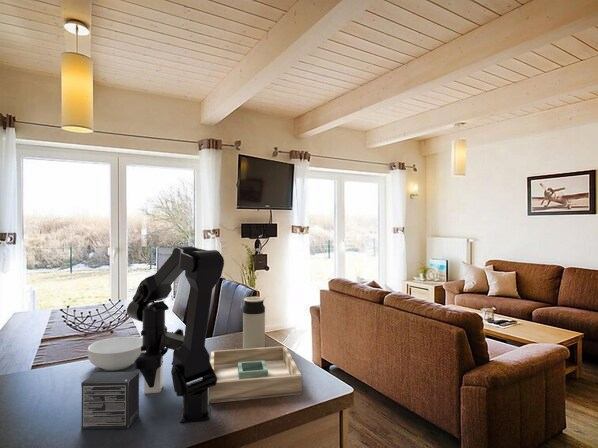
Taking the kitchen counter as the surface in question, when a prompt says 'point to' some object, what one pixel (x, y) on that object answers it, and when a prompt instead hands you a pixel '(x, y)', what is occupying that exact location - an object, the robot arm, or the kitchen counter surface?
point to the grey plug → (157, 383)
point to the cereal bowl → (115, 352)
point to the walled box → (254, 374)
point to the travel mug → (253, 323)
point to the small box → (110, 400)
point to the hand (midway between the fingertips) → (153, 382)
